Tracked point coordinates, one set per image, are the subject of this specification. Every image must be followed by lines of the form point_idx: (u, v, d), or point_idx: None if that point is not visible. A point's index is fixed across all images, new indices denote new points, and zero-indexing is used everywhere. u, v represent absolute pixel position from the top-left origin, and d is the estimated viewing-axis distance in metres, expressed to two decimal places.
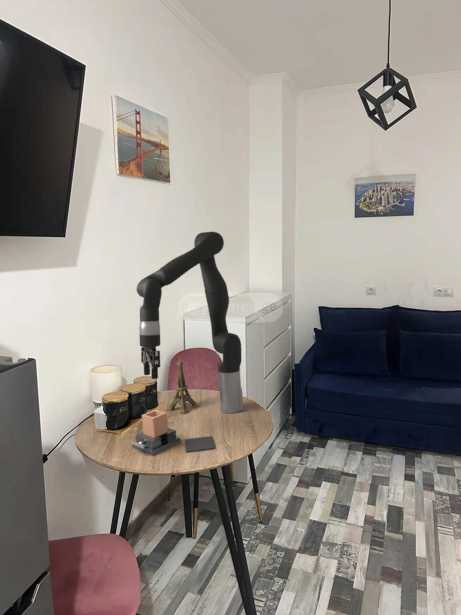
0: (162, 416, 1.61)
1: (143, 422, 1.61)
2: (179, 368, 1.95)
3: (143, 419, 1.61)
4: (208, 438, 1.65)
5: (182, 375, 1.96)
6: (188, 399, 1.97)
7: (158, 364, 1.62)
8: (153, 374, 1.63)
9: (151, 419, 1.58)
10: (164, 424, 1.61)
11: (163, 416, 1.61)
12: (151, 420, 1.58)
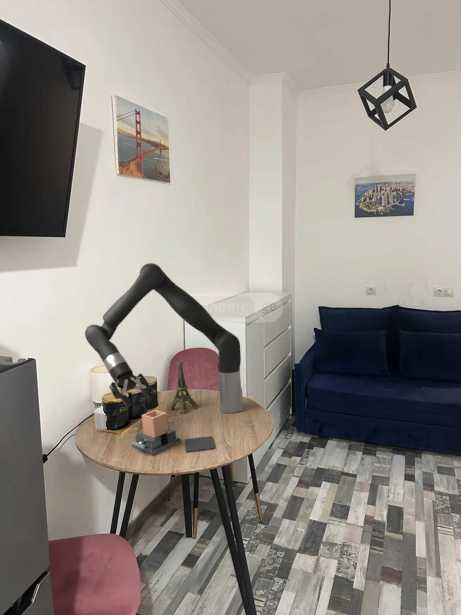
0: (162, 416, 1.61)
1: (143, 422, 1.61)
2: (179, 368, 1.95)
3: (143, 419, 1.61)
4: (208, 438, 1.65)
5: (182, 375, 1.96)
6: (188, 399, 1.97)
7: (116, 394, 1.63)
8: None
9: (151, 419, 1.58)
10: (164, 424, 1.61)
11: (163, 416, 1.61)
12: (151, 420, 1.58)
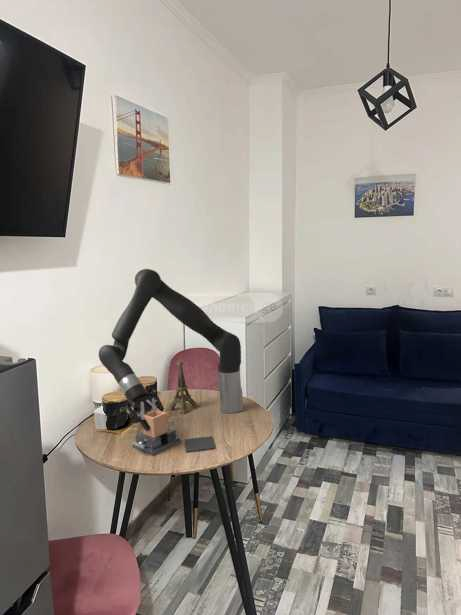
0: (162, 416, 1.61)
1: None
2: (179, 368, 1.95)
3: None
4: (208, 438, 1.65)
5: (182, 375, 1.96)
6: (188, 399, 1.97)
7: None
8: None
9: (151, 419, 1.58)
10: (164, 424, 1.61)
11: (163, 416, 1.61)
12: (151, 420, 1.58)
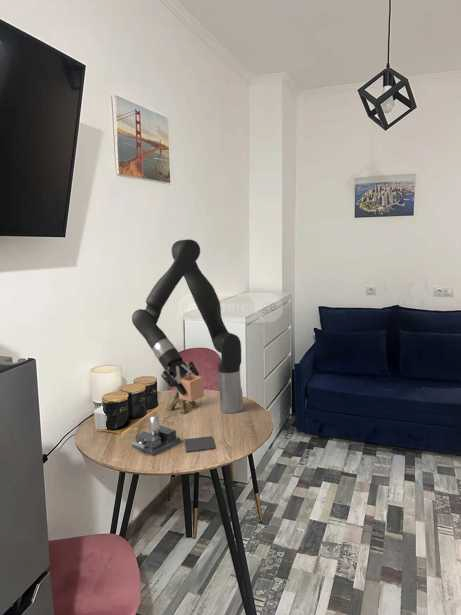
0: (198, 380, 1.57)
1: None
2: None
3: None
4: (208, 438, 1.65)
5: None
6: None
7: None
8: None
9: (188, 382, 1.54)
10: (200, 388, 1.58)
11: (199, 380, 1.57)
12: (187, 383, 1.55)
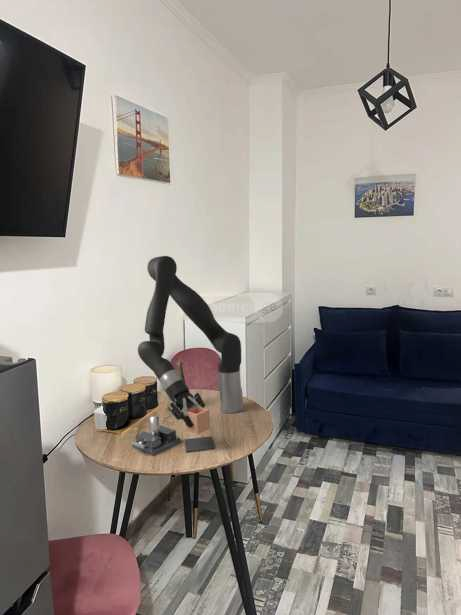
0: (205, 413, 1.58)
1: None
2: (179, 368, 1.95)
3: None
4: (208, 438, 1.65)
5: (182, 375, 1.96)
6: None
7: (178, 414, 1.57)
8: None
9: (195, 415, 1.55)
10: (207, 421, 1.59)
11: (206, 413, 1.58)
12: (194, 416, 1.56)
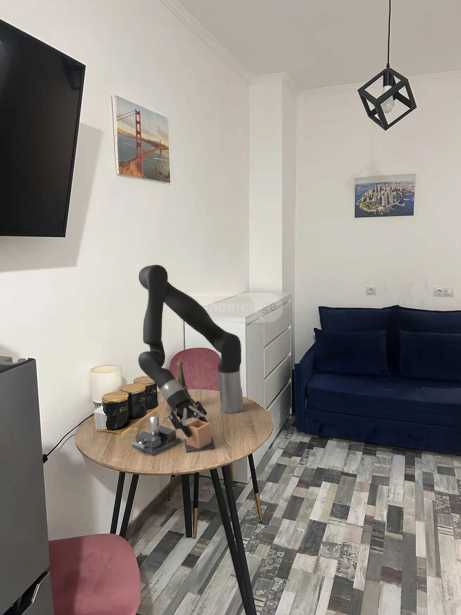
0: (206, 426, 1.59)
1: None
2: (179, 368, 1.95)
3: None
4: None
5: (182, 375, 1.96)
6: None
7: (177, 424, 1.57)
8: None
9: (196, 430, 1.56)
10: (208, 435, 1.60)
11: (207, 426, 1.59)
12: (195, 431, 1.57)
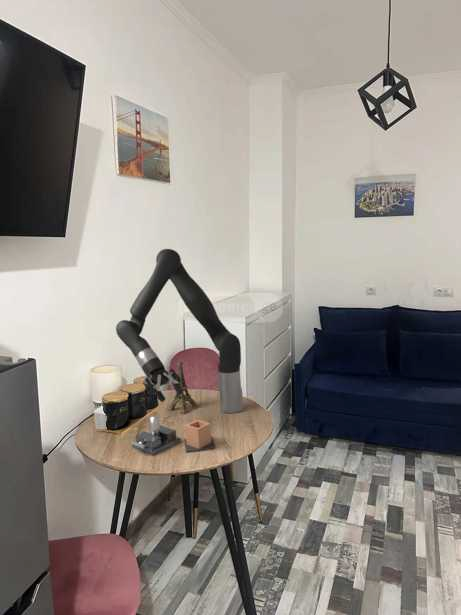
0: (206, 426, 1.59)
1: (187, 433, 1.60)
2: (179, 368, 1.95)
3: (187, 430, 1.59)
4: None
5: (182, 375, 1.96)
6: (188, 399, 1.97)
7: (150, 389, 1.64)
8: None
9: (196, 430, 1.56)
10: (208, 435, 1.60)
11: (207, 426, 1.59)
12: (195, 431, 1.57)
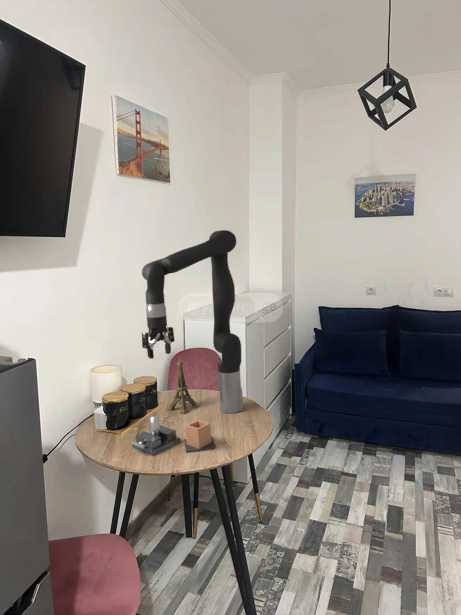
0: (206, 426, 1.59)
1: (187, 433, 1.60)
2: (179, 368, 1.95)
3: (187, 430, 1.59)
4: None
5: (182, 375, 1.96)
6: (188, 399, 1.97)
7: (145, 345, 1.71)
8: None
9: (196, 430, 1.56)
10: (208, 435, 1.60)
11: (207, 426, 1.59)
12: (195, 431, 1.57)
